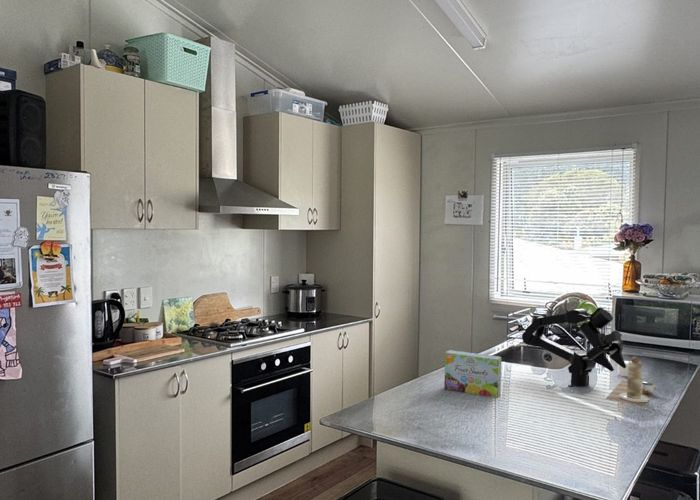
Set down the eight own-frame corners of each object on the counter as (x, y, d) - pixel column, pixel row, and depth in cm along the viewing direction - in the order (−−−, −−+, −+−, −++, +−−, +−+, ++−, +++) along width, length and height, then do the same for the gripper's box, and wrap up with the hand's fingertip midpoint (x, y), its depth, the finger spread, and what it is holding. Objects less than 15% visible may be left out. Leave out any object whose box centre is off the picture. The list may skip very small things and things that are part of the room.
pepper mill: (625, 397, 217) (627, 357, 216) (626, 394, 221) (628, 354, 221) (640, 399, 214) (642, 358, 214) (641, 396, 219) (643, 356, 218)
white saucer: (635, 403, 211) (635, 402, 211) (613, 396, 220) (613, 394, 220) (654, 401, 215) (654, 399, 215) (632, 393, 224) (632, 392, 224)
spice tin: (647, 395, 222) (648, 384, 222) (638, 392, 226) (639, 381, 226) (655, 394, 224) (656, 383, 224) (646, 391, 228) (646, 380, 228)
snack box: (443, 389, 228) (444, 351, 227) (448, 386, 233) (449, 349, 232) (497, 398, 218) (498, 358, 218) (500, 394, 223) (502, 356, 223)
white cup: (631, 380, 249) (632, 364, 248) (614, 377, 253) (615, 361, 252) (635, 377, 254) (635, 361, 254) (618, 374, 258) (619, 359, 258)
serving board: (643, 409, 209) (643, 405, 209) (604, 402, 216) (605, 399, 216) (656, 388, 236) (656, 385, 236) (621, 383, 244) (622, 380, 244)
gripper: (595, 325, 220) (622, 360, 212) (620, 321, 231) (646, 354, 223) (575, 342, 226) (600, 376, 218) (600, 337, 238) (625, 370, 230)
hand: (619, 369), depth 222 cm, fingers open, 9 cm apart
